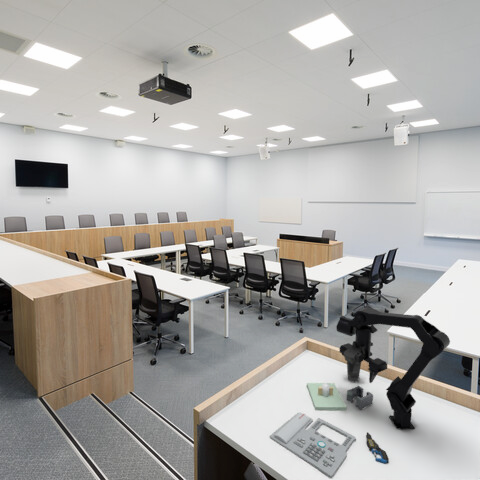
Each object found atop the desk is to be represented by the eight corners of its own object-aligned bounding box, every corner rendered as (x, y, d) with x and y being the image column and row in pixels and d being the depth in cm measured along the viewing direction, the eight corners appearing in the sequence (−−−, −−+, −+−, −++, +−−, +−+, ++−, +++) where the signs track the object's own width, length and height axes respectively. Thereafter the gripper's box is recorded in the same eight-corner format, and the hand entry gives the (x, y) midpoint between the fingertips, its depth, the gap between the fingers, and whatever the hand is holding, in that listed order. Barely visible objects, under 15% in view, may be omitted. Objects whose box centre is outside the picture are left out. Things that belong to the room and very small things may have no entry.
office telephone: (269, 432, 109) (300, 405, 124) (268, 439, 110) (300, 411, 124) (331, 472, 94) (359, 435, 108) (331, 480, 94) (359, 442, 108)
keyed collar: (372, 403, 128) (373, 394, 127) (360, 409, 124) (361, 400, 124) (358, 394, 134) (358, 385, 133) (346, 399, 130) (347, 390, 130)
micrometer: (390, 460, 99) (373, 458, 100) (389, 465, 99) (372, 463, 100) (378, 431, 111) (363, 430, 111) (378, 436, 111) (363, 435, 112)
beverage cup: (348, 372, 150) (350, 332, 147) (363, 378, 145) (366, 337, 142) (342, 379, 144) (344, 337, 141) (358, 385, 140) (360, 342, 137)
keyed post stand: (346, 410, 124) (346, 397, 123) (315, 409, 124) (315, 397, 123) (334, 385, 140) (334, 374, 139) (306, 385, 140) (307, 374, 139)
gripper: (330, 335, 129) (329, 371, 131) (369, 355, 113) (367, 395, 115) (349, 329, 135) (347, 364, 137) (389, 347, 119) (386, 386, 121)
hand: (360, 376), depth 127 cm, fingers open, 9 cm apart
